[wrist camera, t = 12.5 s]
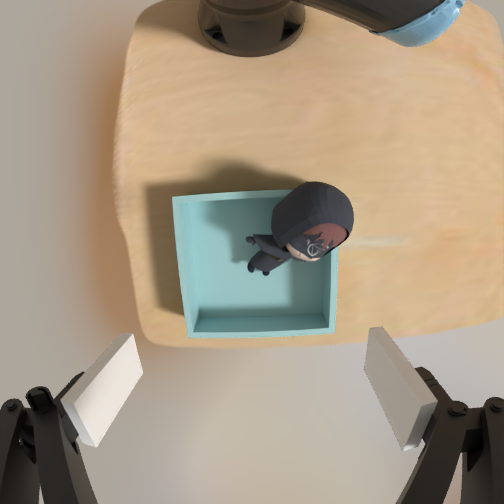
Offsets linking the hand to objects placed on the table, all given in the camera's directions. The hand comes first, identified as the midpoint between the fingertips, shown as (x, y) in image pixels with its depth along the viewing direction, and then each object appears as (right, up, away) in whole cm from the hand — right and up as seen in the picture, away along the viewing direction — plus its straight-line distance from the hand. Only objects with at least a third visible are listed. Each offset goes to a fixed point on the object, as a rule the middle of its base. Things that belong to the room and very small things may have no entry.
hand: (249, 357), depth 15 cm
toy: (+1, +4, +22) cm, 23 cm away
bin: (+1, +5, +24) cm, 24 cm away
